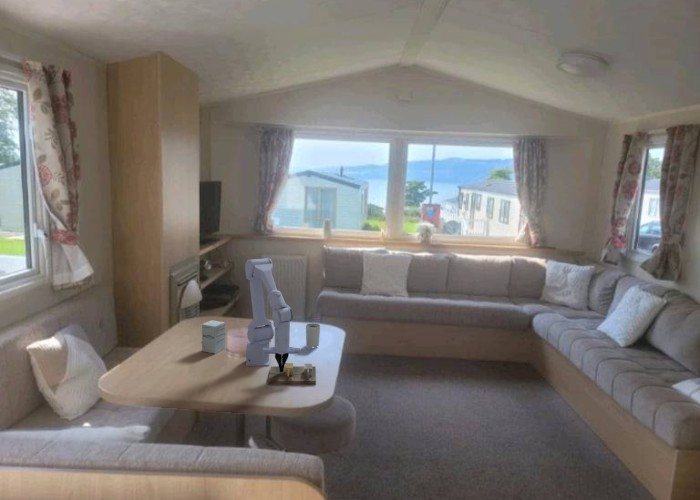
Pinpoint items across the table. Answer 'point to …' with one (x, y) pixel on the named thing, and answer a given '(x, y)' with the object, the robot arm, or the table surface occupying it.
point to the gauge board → (293, 376)
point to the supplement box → (213, 336)
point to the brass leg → (288, 369)
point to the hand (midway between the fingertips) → (281, 371)
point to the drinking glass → (312, 334)
